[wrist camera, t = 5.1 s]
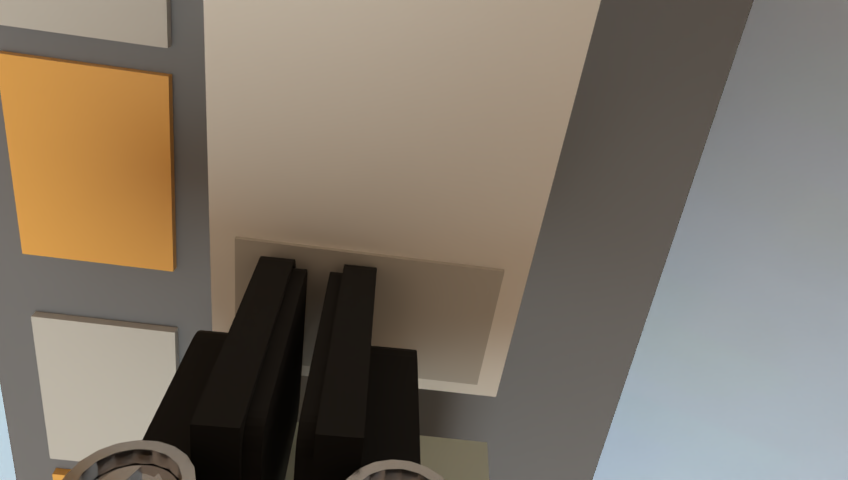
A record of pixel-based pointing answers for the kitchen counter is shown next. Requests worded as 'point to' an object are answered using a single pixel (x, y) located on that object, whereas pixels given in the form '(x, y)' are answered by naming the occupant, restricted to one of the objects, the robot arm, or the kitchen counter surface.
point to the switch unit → (190, 235)
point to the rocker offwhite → (392, 160)
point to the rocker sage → (439, 458)
